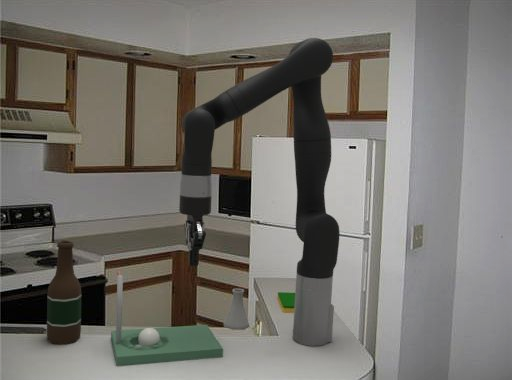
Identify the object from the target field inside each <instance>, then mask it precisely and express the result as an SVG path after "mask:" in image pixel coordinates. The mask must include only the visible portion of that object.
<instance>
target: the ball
mask: <svg viewBox="0 0 512 380" xmlns="http://www.w3.org/2000/svg"><path fill="white" fill-rule="evenodd" d="M153 328H154V327H147V328H146V327H145V328H143V329H144V330H142V331H141V333H140V334H139V337H138V341H139V344H138V345H139V347H149V346H153V345H157V344H158V343H159V341H160V336H159V333H158V332H157V331H156V330H155V329H153Z"/></svg>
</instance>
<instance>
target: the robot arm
mask: <svg viewBox="0 0 512 380" xmlns="http://www.w3.org/2000/svg"><path fill="white" fill-rule="evenodd" d="M333 60H334V52H333V49H332V47H331V46H330V44H329V43H328V42H327V41H325V40H324V39H322V38H318V37H309V38H306V39H304V40H302V41H299V42H297V43H296V44H295V45H294V46H293V47H292V49H290V52H289V55H287V56H286V57H285V58H283V59H282V60H281V61H279V62H277V63H276V64H273V65H272V66H271V67H268V68H266V69H264V70H262V71H261V72H258V73H256V74H255V75H252V76H250V77H248V78H246V79H244V80H242V81H240V82H238V83H237V84H235V85H233V86H231V87H229V88H228V89H226V90H225V91H223V92H221V93H220V94H218V95H217V96H215V97H214V98H213V99H210V100H209V101H207V102H204V103H203V104H201V105H199V106H197V107H195V108H193V109H191V110H190V111H188V112H186V113H185V114H184V116H183V118H182V121H181V122H182V123H181V126H182V129H183V133H184V135H183V136H184V145H183V147H184V150H183V153H182V156H181V158H182V159H181V176H180V183H179V209H178V211H179V213H180V214H182V215H184V216H185V215H186V220H185V221H184V225H183V227H184V235H185V236H184V237H185V244H186V246H187V249H188V255H187V256H188V259H187V260H188V261H187V262H188V263H187V264H188V265H189V266H190V267H197V266H199V264H200V263H199V260H200V251H201V250H203V246H204V243H205V239H206V235H207V233H206V231H205V222H204V220H203V219H204V218H203V217H204V216H208V215H210V214H211V212H212V198H213V197H212V194H213V193H212V190H213V181H212V166H213V165H212V164H213V162H212V161H213V160H212V156H213V155H212V152H213V147H214V139H215V131H216V130H217V129H219V128H221V127H222V126H224V125H225V124H227V123H229V122H233V121H235V120H237V119H239V118H241V117H242V116H244V115H246V114H247V113H250V112H251V111H252V110H255V108H257V107H259V106H260V105H263V104H264V103H265V102H267V101H269V100H270V99H272V98H273V97H275V96H277V95H279V94H280V93H282V92H283V91H285V90H287V89H289V88H291V91H292V101H293V102H292V104H293V105H292V106H293V107H292V110H293V111H292V112H293V114H292V117H293V118H292V120H293V153H294V154H293V155H294V164H295V165H294V166H295V168H294V169H295V182H296V209H295V210H296V211H295V232H296V235H297V237H298V238H299V240H300V241H301V242H303V247H302V257H301V259H300V260H299V261H298V262H297V264H296V275H295V276H296V277H295V292H294V293H295V307H294V313H293V324H292V325H293V326H292V328H293V329H292V340H293V341H295V342H296V343H298V344H301V345H305V346H310V347H311V346H312V347H313V346H314V347H316V346H323V345H326V344H327V343H331V342H333V341H332V340H333V330H334V328H333V327H334V326H333V325H334V313H335V311H334V310H335V305H333V303H332V295H333V280H334V271H335V270H334V269H335V268H336V265H337V263H338V254H339V246H340V245H339V244H340V226H339V223H338V221H337V219H335V218H334V217H333V216H332V215H330V214H328V213H327V211H326V210H327V209H326V200H325V187H326V182H327V178H328V176H329V175H328V174H329V172H330V166H331V162H332V135H331V128H330V125H329V124H330V123H329V119H328V117H327V113H326V110H325V108H324V103H323V99H322V98H323V97H322V76H323V75H324V74H326V72H327V71H329V69H330V68H331V66H332V64H333Z"/></svg>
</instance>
